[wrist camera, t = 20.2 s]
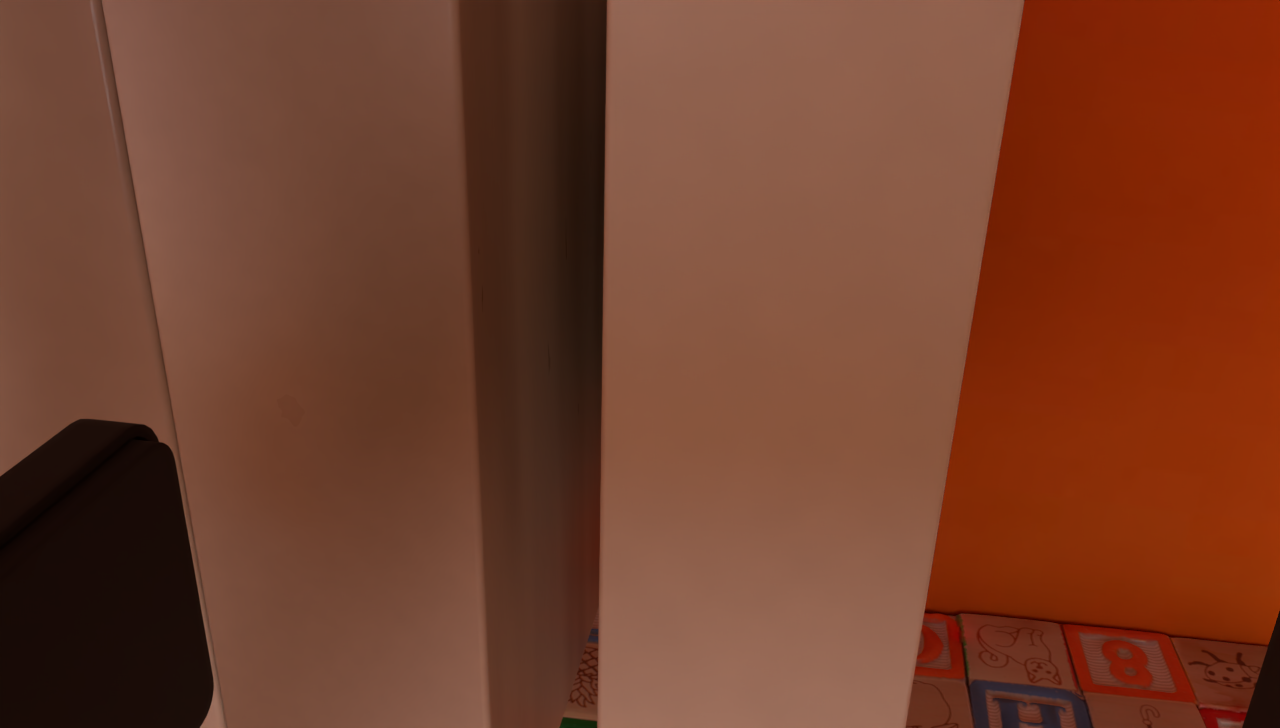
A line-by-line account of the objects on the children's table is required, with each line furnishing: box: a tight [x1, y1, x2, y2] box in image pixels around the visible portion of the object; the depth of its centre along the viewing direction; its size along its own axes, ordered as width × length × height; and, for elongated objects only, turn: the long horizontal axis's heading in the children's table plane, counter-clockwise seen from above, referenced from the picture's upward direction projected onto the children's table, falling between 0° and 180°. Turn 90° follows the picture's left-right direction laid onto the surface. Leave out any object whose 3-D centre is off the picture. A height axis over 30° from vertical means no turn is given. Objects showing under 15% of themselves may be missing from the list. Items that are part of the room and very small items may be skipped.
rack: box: [0, 0, 607, 728], centre depth 21 cm, size 15×16×19 cm
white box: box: [597, 0, 1025, 728], centre depth 20 cm, size 14×4×18 cm, turn 178°
